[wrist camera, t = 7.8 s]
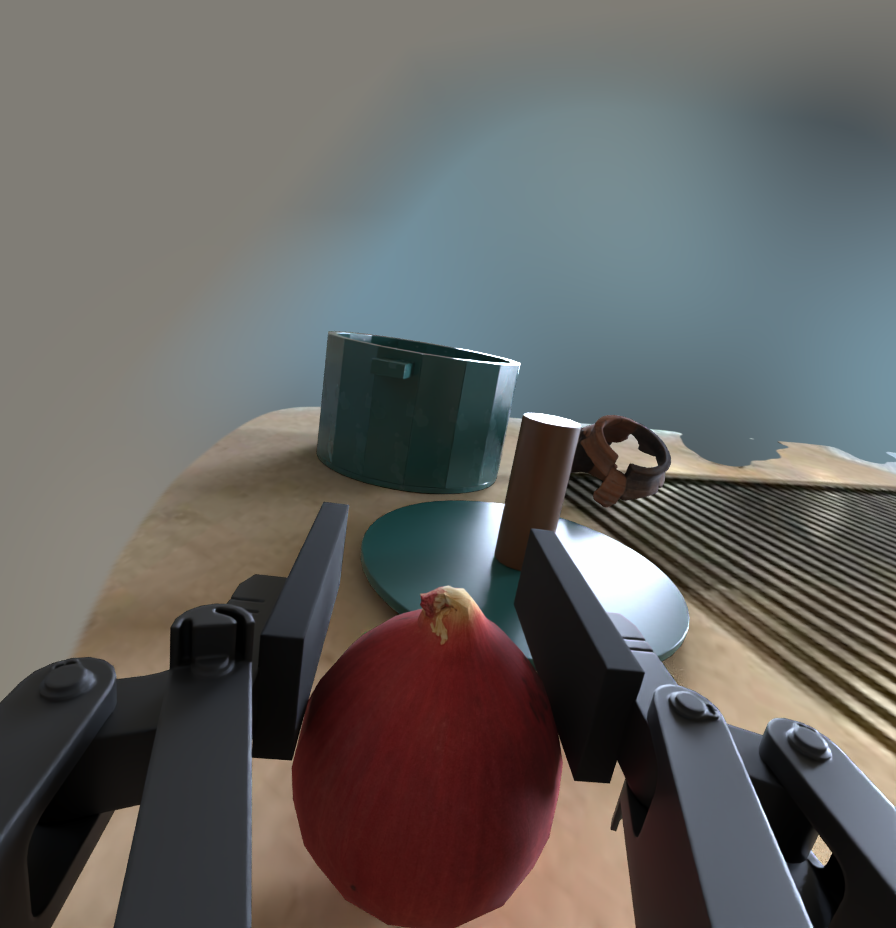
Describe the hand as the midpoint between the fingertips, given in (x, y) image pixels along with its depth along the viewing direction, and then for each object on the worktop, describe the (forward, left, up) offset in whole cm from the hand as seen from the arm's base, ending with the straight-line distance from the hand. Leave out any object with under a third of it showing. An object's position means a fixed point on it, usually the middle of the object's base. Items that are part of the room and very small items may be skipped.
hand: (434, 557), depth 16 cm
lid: (+3, +12, -5) cm, 14 cm away
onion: (+1, -5, -6) cm, 8 cm away
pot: (-8, +30, -6) cm, 32 cm away
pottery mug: (+9, +33, -6) cm, 35 cm away
